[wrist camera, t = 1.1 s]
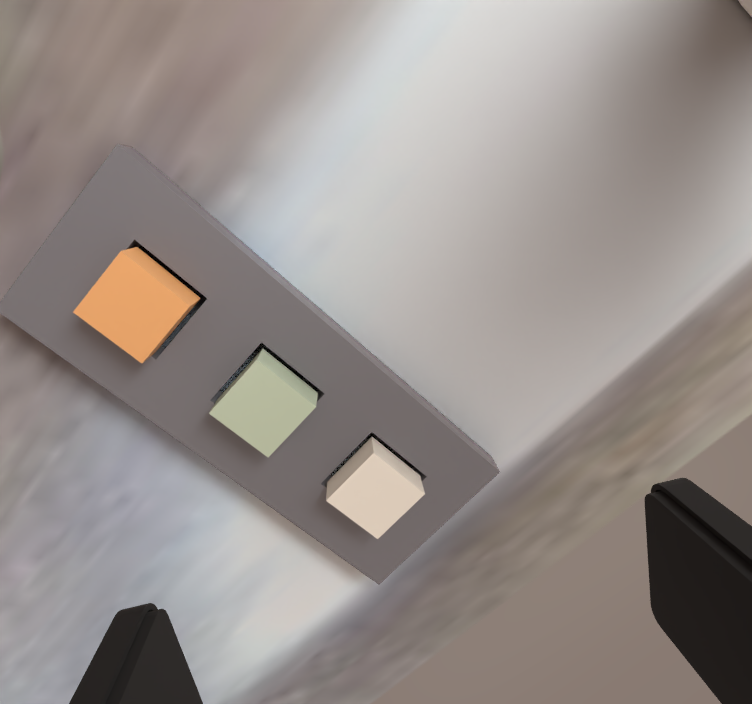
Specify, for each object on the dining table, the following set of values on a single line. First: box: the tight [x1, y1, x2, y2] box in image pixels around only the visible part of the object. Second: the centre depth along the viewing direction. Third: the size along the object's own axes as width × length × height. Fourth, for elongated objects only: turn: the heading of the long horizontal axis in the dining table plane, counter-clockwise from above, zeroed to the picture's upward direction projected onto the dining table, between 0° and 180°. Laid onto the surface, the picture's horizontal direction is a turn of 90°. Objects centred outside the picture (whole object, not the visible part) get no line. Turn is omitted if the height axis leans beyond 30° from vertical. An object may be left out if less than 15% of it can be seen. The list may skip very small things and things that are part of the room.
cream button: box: [326, 437, 425, 539], centre depth 33 cm, size 4×4×2 cm
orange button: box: [73, 247, 201, 363], centre depth 29 cm, size 4×4×2 cm
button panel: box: [0, 144, 500, 584], centre depth 33 cm, size 12×30×2 cm, turn 47°
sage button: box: [209, 349, 318, 457], centre depth 31 cm, size 4×4×2 cm
